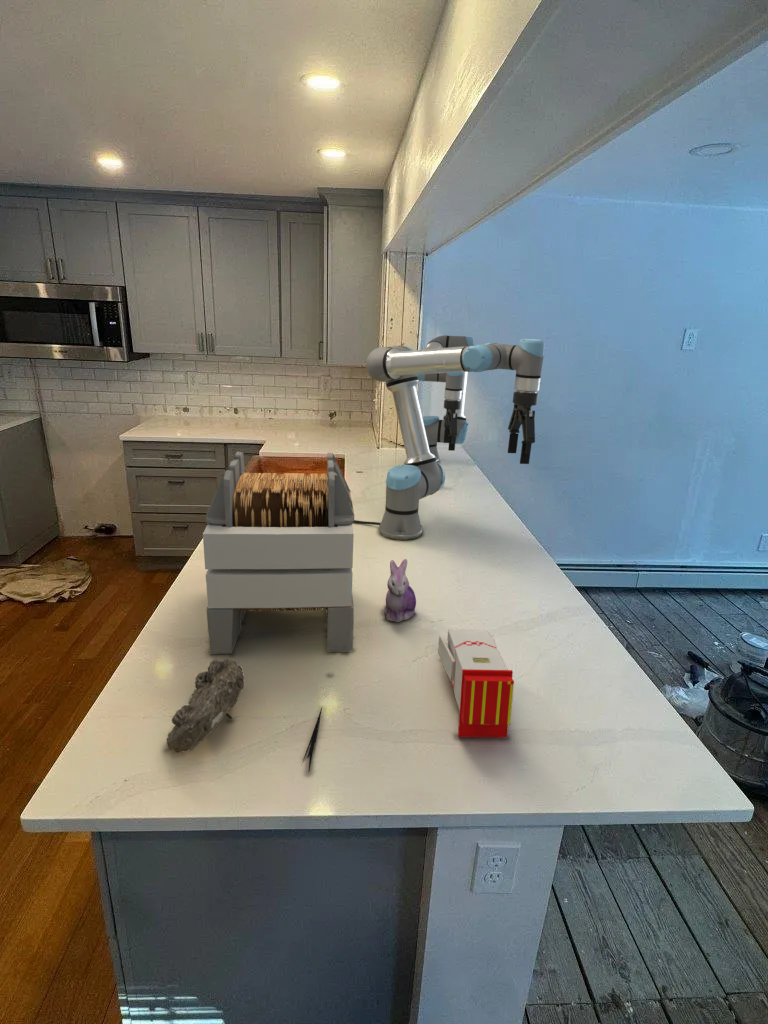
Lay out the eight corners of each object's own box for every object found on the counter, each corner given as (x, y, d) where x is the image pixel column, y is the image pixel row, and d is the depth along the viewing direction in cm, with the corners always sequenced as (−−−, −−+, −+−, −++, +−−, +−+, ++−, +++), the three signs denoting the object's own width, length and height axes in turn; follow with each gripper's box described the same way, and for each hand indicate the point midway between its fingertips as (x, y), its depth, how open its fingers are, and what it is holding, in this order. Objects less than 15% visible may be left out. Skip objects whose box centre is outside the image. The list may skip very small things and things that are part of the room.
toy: (488, 613, 130) (523, 677, 101) (484, 667, 133) (517, 744, 104) (435, 612, 130) (455, 676, 101) (432, 666, 133) (451, 743, 103)
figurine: (392, 627, 141) (395, 572, 136) (374, 608, 149) (376, 556, 144) (425, 619, 145) (429, 566, 140) (405, 601, 154) (408, 550, 149)
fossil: (192, 660, 117) (244, 628, 112) (224, 691, 120) (276, 661, 115) (142, 746, 98) (202, 712, 93) (182, 779, 101) (242, 748, 96)
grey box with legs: (229, 585, 158) (221, 442, 144) (346, 584, 161) (350, 444, 148) (206, 656, 126) (193, 481, 112) (353, 652, 130) (358, 483, 116)
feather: (331, 679, 122) (336, 673, 122) (307, 777, 96) (313, 769, 95) (324, 675, 122) (329, 669, 121) (298, 772, 95) (304, 764, 95)
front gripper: (552, 397, 164) (542, 468, 171) (525, 386, 187) (517, 449, 194) (526, 397, 163) (517, 468, 170) (503, 385, 187) (496, 448, 194)
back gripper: (466, 405, 239) (462, 453, 246) (456, 395, 262) (452, 440, 269) (448, 404, 238) (445, 453, 246) (440, 394, 261) (436, 439, 269)
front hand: (517, 458), depth 182 cm, fingers open, 13 cm apart
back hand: (448, 446), depth 257 cm, fingers open, 13 cm apart
